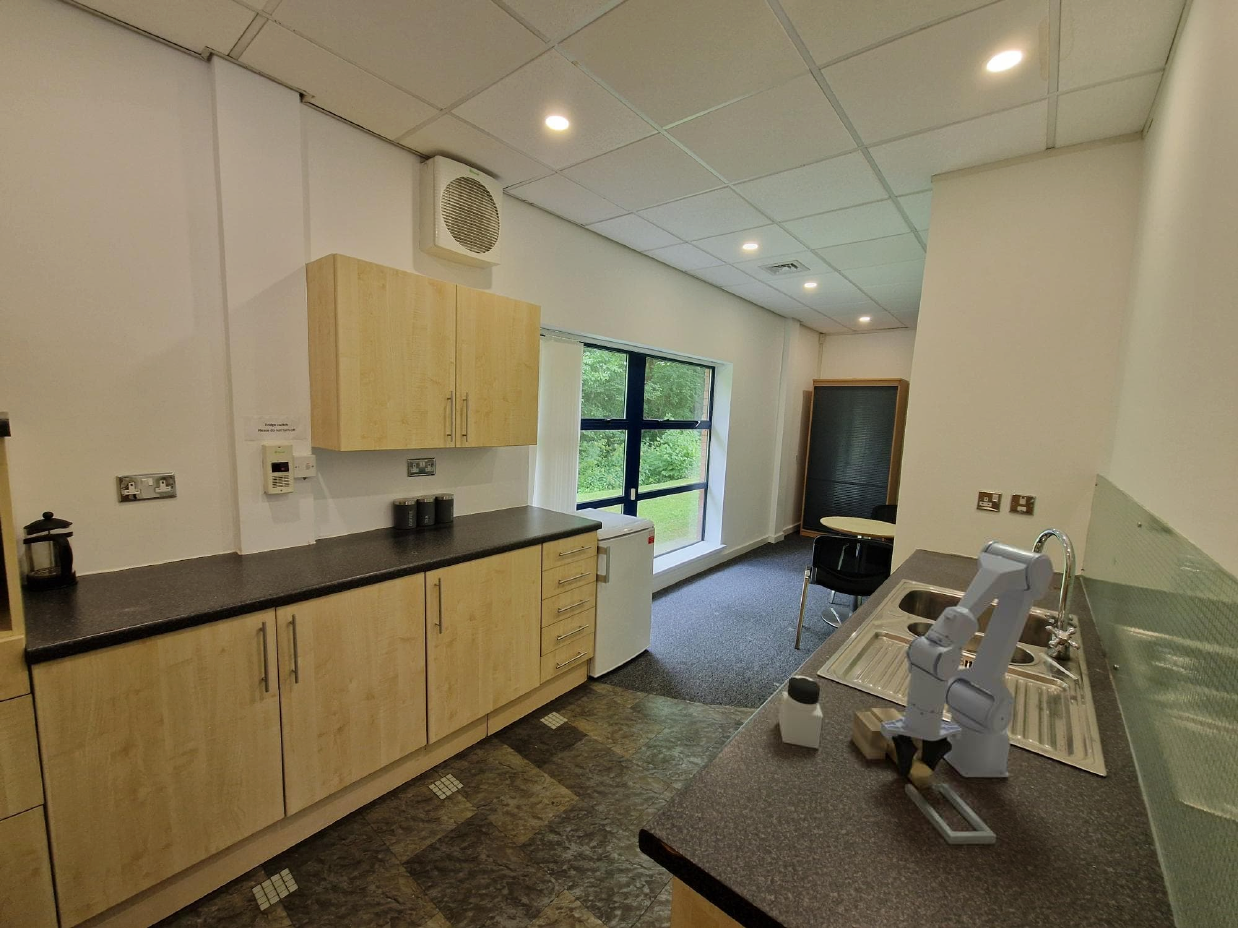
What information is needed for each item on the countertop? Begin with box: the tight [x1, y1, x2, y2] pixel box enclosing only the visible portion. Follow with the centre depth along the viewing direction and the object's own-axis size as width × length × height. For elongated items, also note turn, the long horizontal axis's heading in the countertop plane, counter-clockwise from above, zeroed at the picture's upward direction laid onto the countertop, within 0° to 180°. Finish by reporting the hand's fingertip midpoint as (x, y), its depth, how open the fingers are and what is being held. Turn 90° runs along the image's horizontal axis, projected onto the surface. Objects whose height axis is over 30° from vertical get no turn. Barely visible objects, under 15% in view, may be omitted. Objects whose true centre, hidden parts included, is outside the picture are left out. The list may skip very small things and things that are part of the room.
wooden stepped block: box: [850, 707, 922, 760], centre depth 100 cm, size 12×6×7 cm, turn 95°
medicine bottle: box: [778, 675, 824, 750], centre depth 102 cm, size 7×7×12 cm
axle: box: [886, 738, 936, 790], centre depth 94 cm, size 10×4×4 cm, turn 5°
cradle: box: [904, 783, 997, 845], centre depth 84 cm, size 8×11×1 cm
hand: (914, 771), depth 92 cm, fingers closed on axle, 4 cm apart
